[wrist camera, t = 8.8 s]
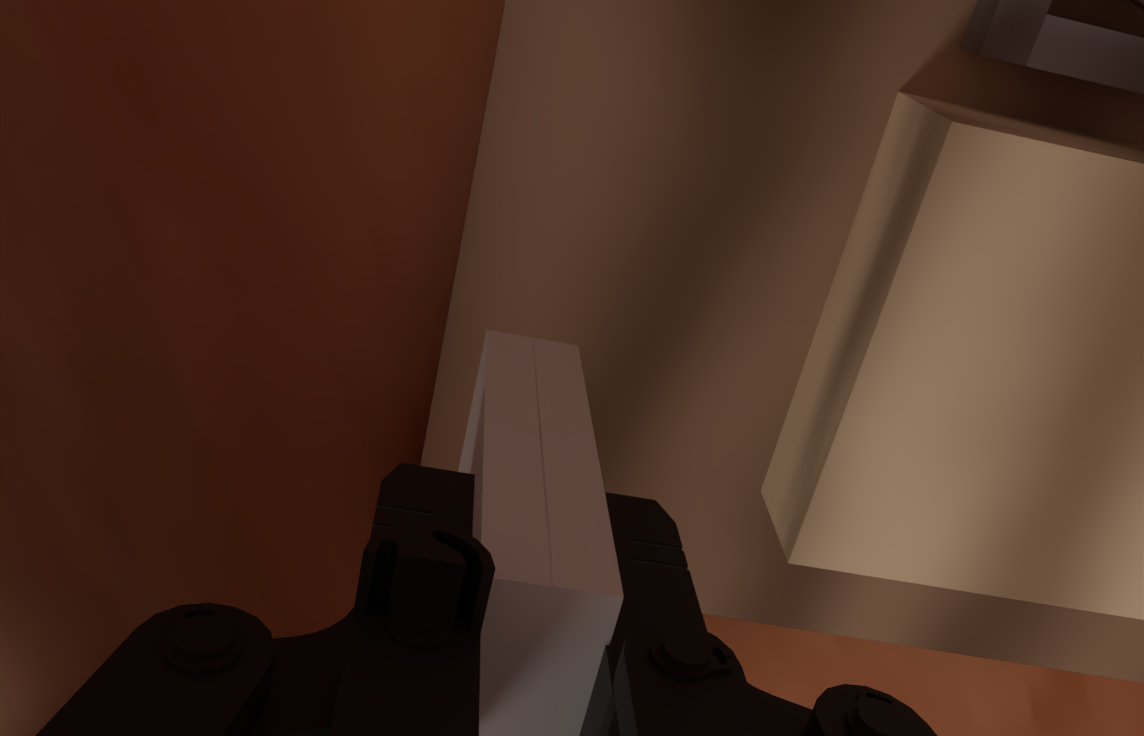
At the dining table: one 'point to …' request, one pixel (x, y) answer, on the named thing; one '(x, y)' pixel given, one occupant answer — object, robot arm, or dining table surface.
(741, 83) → the board
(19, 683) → the dining table surface
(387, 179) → the dining table surface
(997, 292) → the thin beige square tile
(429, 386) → the dining table surface
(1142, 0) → the dowel
